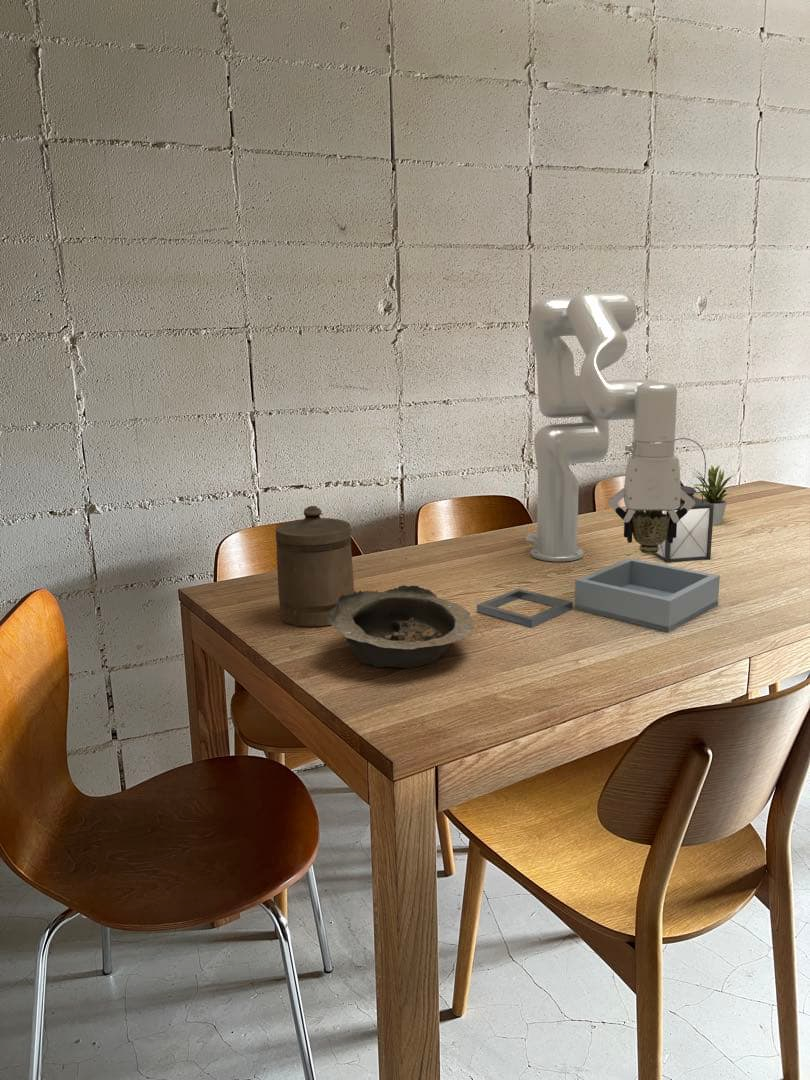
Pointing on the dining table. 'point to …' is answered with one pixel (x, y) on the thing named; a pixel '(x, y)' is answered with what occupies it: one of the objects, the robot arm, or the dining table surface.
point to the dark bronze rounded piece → (650, 529)
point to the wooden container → (313, 567)
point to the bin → (647, 593)
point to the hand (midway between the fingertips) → (649, 540)
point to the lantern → (690, 531)
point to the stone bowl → (399, 625)
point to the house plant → (714, 493)
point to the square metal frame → (491, 610)
